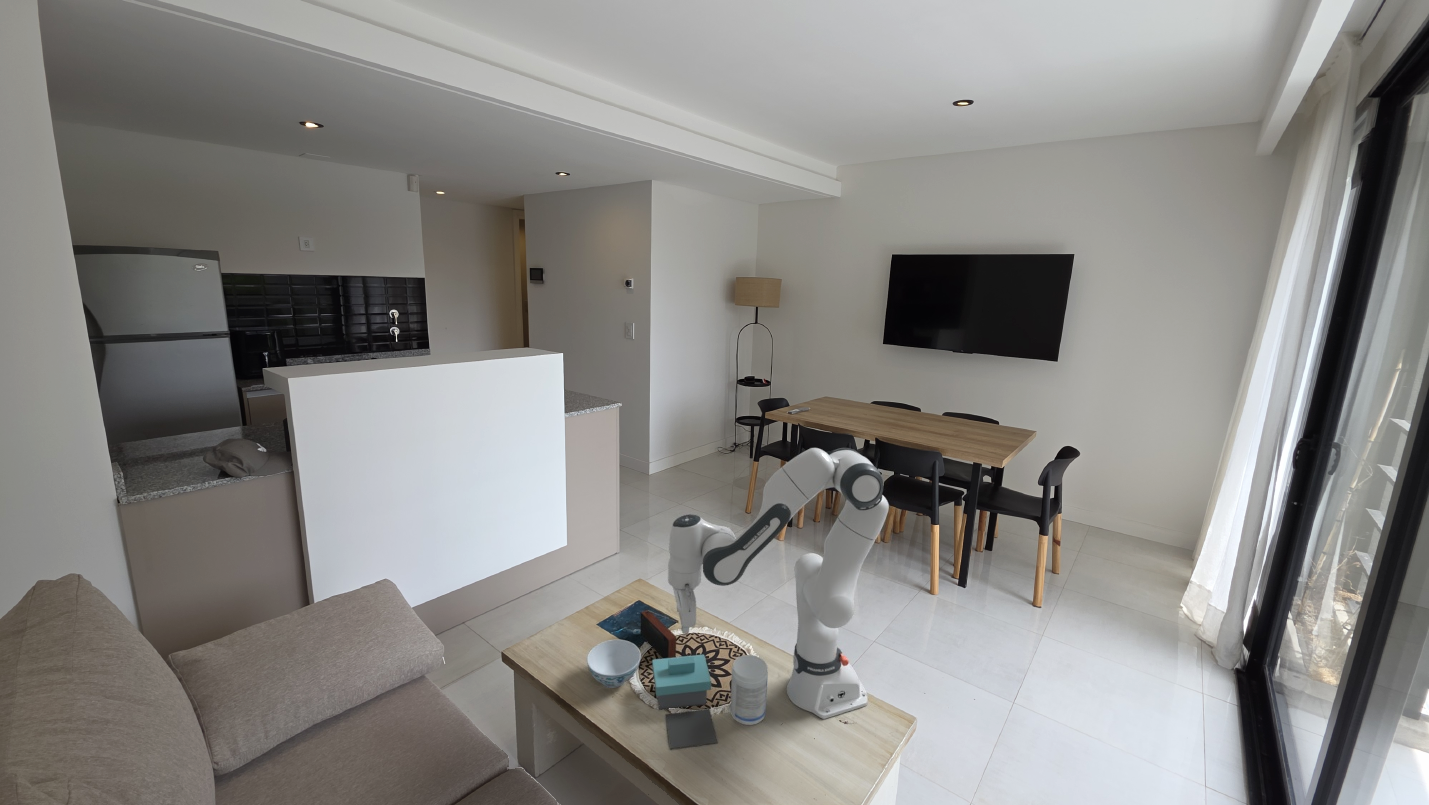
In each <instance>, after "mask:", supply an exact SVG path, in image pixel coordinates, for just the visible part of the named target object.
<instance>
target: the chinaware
mask: <svg viewBox="0 0 1429 805" xmlns="http://www.w3.org/2000/svg"><path fill="white" fill-rule="evenodd" d="M641 656H642V654H641V651H640V649H639V647H638V646H637V645H636V644H635V643H633V642H631V641H628V640H625V639H609V640H605V641H602V642H600V643H598V644H596V645H595V646H593V648H591V650H590V651H589V652H588V654H587V657H586V662H587V666H588V670H589V672H590V674H591V675H592V677H593V678H594V679H595V681H597V682H598V683H599V684H601V685H604V686H605V687H607V688H611V689H614V688H616V689H617V688H619V687H620V686H623V685H624V684H625V683H626V682H628V681H629V680H631V678H632V677H633V676H634V675H635V673H636V672H637V670H638V668H639V665H640V663H641V662H640V661H641Z"/></svg>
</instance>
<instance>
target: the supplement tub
mask: <svg viewBox="0 0 1429 805" xmlns="http://www.w3.org/2000/svg"><path fill="white" fill-rule="evenodd" d="M768 678H769V671H768V665H767V663H766V661H765V660H764V659H762V658H761V657H759V656H757V655H752V654H745V655H741V656H738V657H737V658H736V659H735V660H734V661H733V663H732V667H731V683H730V684H731V686H730V710H729V711H730V715H731V716H732V718H733V719H734V720H735V721H737V723H740V724H742V725H745V726H753V725H757V724H759V723H761V722H762V720H764V718H765V717H766V711H767V694H768V693H767V692H768Z"/></svg>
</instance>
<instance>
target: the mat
mask: <svg viewBox="0 0 1429 805" xmlns="http://www.w3.org/2000/svg"><path fill="white" fill-rule="evenodd" d="M665 722H666V727H667V728H666V730H667V734H668V742H669V748H670V750H676V749H684V748H685V749H686V748H692V747H698V746H709V745H713V744H718V743H719V742H718V738H717V733H716V729H715V724H714V721H713V718H712V712H711V709H710V708H705V709H697V710H690V711H681V712H672V713H671V712H670V713H665Z"/></svg>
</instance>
